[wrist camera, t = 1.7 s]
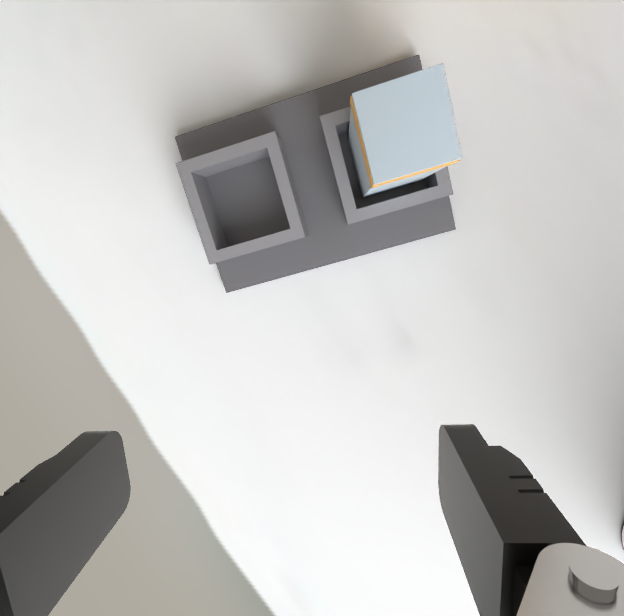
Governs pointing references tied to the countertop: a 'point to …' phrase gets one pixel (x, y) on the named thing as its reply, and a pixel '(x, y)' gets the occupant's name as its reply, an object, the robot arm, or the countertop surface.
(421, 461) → the countertop surface
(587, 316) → the countertop surface
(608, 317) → the countertop surface
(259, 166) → the grey boxy piece
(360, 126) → the plug
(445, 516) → the robot arm
